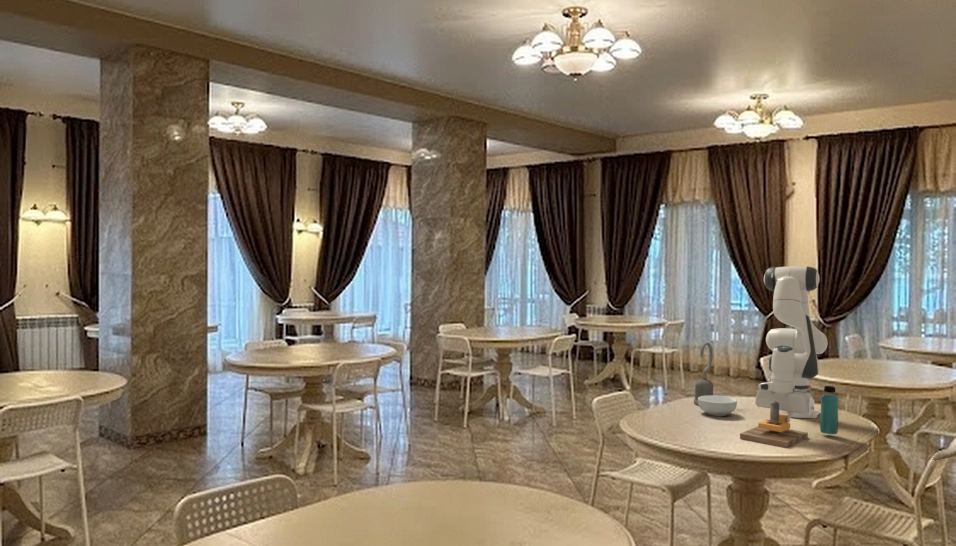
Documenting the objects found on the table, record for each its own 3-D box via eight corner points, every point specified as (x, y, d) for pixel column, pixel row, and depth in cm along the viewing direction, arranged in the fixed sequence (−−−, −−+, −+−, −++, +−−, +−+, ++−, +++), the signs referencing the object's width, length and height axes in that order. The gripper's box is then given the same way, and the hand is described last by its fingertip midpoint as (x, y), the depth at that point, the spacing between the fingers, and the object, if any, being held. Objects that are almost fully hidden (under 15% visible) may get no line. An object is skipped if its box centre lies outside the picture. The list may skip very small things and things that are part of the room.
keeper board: (762, 429, 296) (763, 394, 296) (807, 437, 284) (808, 400, 284) (739, 438, 280) (740, 401, 280) (787, 447, 268) (788, 408, 268)
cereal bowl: (697, 409, 335) (697, 394, 335) (735, 411, 330) (735, 396, 330) (698, 416, 318) (698, 400, 318) (737, 419, 314) (738, 403, 314)
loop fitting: (772, 422, 293) (773, 412, 293) (795, 426, 287) (795, 416, 287) (758, 428, 282) (758, 417, 282) (781, 432, 276) (781, 421, 276)
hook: (719, 404, 347) (721, 342, 347) (708, 407, 339) (710, 344, 338) (701, 401, 354) (702, 340, 353) (689, 404, 345) (690, 342, 345)
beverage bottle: (839, 438, 283) (841, 388, 283) (821, 437, 285) (823, 387, 284) (835, 434, 290) (836, 385, 289) (817, 433, 291) (819, 384, 291)
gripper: (812, 389, 282) (811, 424, 283) (760, 382, 296) (759, 415, 297) (806, 391, 278) (805, 427, 278) (754, 384, 292) (753, 418, 292)
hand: (781, 421), depth 288 cm, fingers closed on loop fitting, 3 cm apart
